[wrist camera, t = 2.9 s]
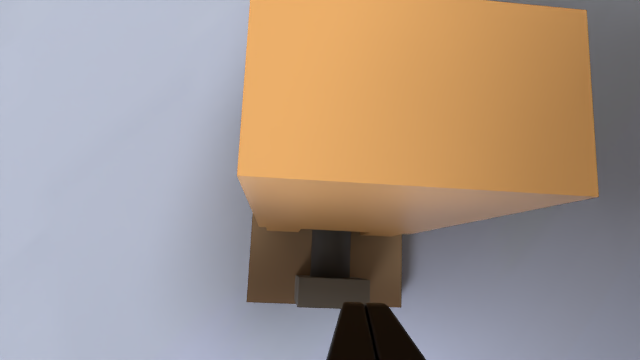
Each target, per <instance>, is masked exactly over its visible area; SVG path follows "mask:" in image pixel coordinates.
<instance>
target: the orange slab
mask: <svg viewBox="0 0 640 360" xmlns="http://www.w3.org/2000/svg"><path fill="white" fill-rule="evenodd" d="M237 177H238V179H239V181H240V184H241V186H242V188H243V191H244V193H245V195H246V198H247V200H248V202H249V205H250V207H251V209H252V212H253V214H254V216H255V219H256V221H257V223H258V226H259V227H266V229H267V231H283V232H299V231H300V230H301V229H314V230H334V231H354V232H360V235H366V236H386V237H392V236H396V235H401V234H414V233H419V232H424V231H429V230H435V229H440V228H445V227H450V226H455V225H460V224H465V223H470V222H475V221H480V220H485V219H490V218H495V217H500V216H505V215H510V214H515V213H520V212H525V211H530V210H535V209H540V208H545V207H551V206H556V205H561V204H566V203H571V202H576V201H581V200H586V199H591V198H596V197H599V193H598V177H597V162H596V147H595V131H594V116H593V100H592V85H591V70H590V54H589V39H588V24H587V10H580V9H570V8H560V7H549V6H539V5H529V4H518V3H508V2H498V1H487V0H250V10H249V24H248V37H247V50H246V64H245V77H244V90H243V103H242V117H241V130H240V143H239V157H238V170H237Z"/></svg>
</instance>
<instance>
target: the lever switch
mask: <svg viewBox="0 0 640 360" xmlns="http://www.w3.org/2000/svg"><path fill="white" fill-rule="evenodd" d="M401 277H402V234H401V235H396V236H392V237H386V236H366V235H360V232H354V231H334V230H314V229H301V230H300V231H299V232H283V231H267V229H266V227H259V226H258V223H257V221H256V219H255V216H254V214H253V217H252V232H251V246H250V261H249V276H248V290H247V302H260V303H288V304H296V305H297V307H308V308H338V309H341V307H342V304H343V303H344V302H361V303H363V304H364V305H365V304H366V303H368V302H369V303H385V304H386V305H387V306H388V307H401Z"/></svg>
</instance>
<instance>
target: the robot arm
mask: <svg viewBox="0 0 640 360" xmlns="http://www.w3.org/2000/svg"><path fill="white" fill-rule="evenodd" d="M326 360H426V359H425V358H424V356H423V355H422V353H421V352H420V351H419V349H418V348H417V346H416V345H415V343H414V342H413V341H412V339H411V338H410V336H409V335H408V334H407V332H406V331H405V329H404V328H403V326H402V325H401V324H400V322H399V321H398V319H397V318H396V317H395V315H394V314H393V312H392V311H391V309H390V308H389V307H388V306H387V305H386V304H385V303H369V302H368V303H366V304H365V305H364V304H363V303H361V302H344V303H343V304H342V307H341V311H340V314H339V318H338V321H337V325H336V328H335V332H334V335H333V338H332V342H331V345H330V349H329V352H328V356H327V359H326Z"/></svg>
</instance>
